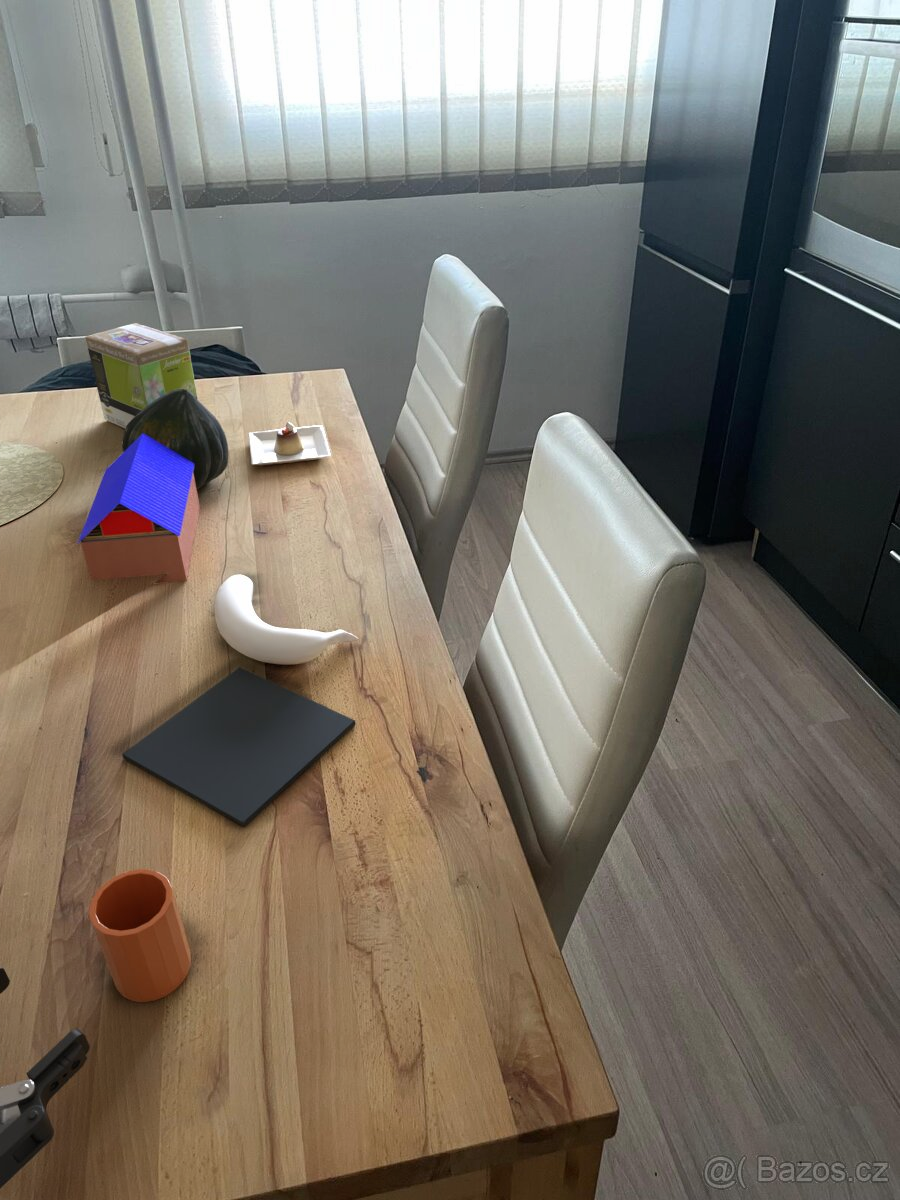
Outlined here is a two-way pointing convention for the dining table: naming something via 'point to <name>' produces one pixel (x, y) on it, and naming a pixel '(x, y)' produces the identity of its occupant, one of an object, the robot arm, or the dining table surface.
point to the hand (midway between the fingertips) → (42, 1003)
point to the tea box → (137, 369)
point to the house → (143, 515)
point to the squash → (183, 432)
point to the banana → (266, 629)
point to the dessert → (288, 445)
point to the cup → (141, 934)
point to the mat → (239, 744)
